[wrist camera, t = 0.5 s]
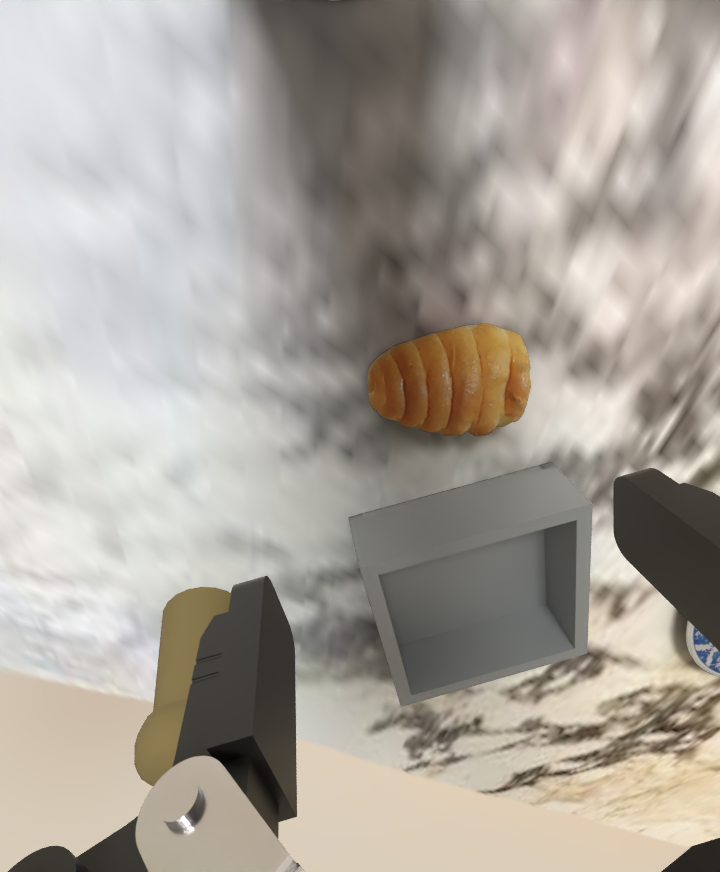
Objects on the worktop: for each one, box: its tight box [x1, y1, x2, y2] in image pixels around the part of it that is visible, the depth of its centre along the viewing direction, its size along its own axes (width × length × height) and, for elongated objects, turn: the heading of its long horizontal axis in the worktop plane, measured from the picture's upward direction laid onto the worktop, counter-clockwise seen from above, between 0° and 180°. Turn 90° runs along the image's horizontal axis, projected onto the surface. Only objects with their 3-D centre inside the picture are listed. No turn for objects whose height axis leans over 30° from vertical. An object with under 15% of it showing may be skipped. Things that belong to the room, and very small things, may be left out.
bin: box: [349, 462, 592, 707], centre depth 35 cm, size 15×15×5 cm
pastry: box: [367, 324, 531, 436], centre depth 28 cm, size 9×7×4 cm
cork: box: [135, 587, 231, 786], centre depth 31 cm, size 6×6×11 cm
